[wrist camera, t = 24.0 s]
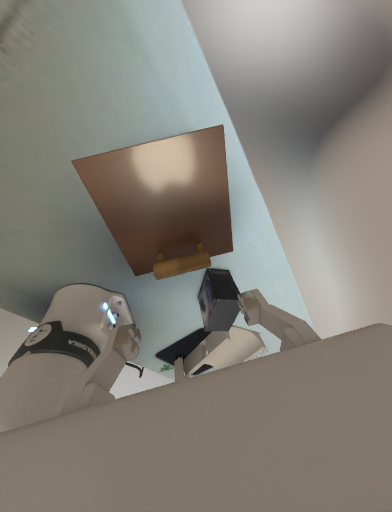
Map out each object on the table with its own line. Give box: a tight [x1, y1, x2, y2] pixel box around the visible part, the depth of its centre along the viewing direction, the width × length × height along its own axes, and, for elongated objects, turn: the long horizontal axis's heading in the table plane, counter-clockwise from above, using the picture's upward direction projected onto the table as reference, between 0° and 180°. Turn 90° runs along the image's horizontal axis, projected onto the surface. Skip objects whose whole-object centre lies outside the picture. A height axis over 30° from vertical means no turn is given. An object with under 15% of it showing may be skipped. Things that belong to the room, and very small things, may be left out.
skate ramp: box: [174, 325, 268, 382], centre depth 54 cm, size 25×23×10 cm
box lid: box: [71, 125, 233, 280], centre depth 15 cm, size 13×14×5 cm
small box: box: [198, 269, 240, 331], centre depth 37 cm, size 11×6×10 cm, turn 168°
